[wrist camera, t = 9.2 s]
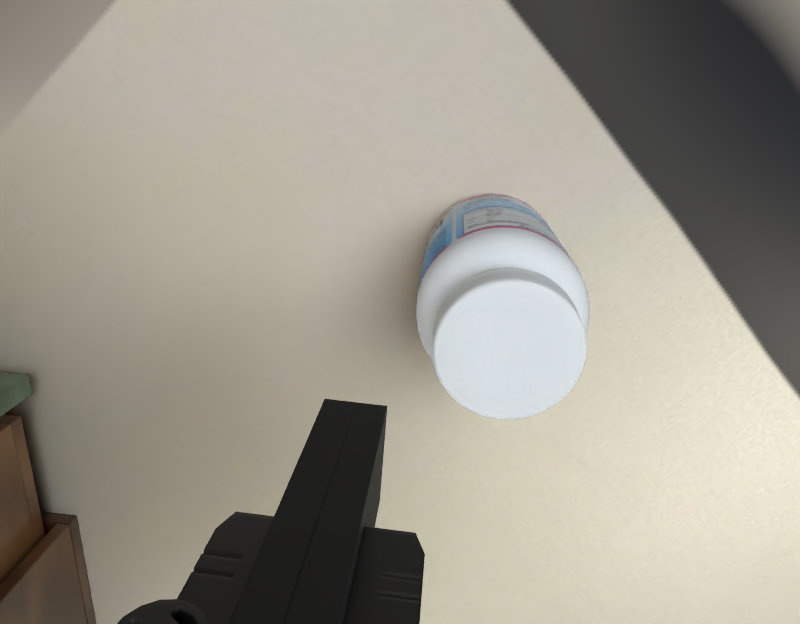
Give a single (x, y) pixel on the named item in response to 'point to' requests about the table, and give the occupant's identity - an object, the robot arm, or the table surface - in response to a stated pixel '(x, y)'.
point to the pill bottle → (501, 308)
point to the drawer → (16, 480)
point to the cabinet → (50, 579)
